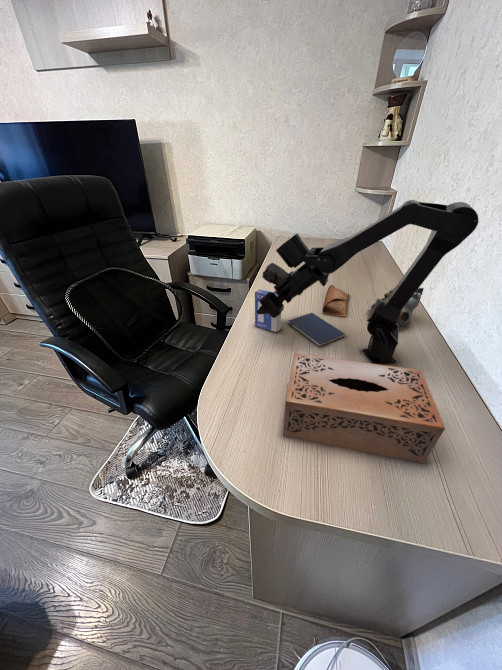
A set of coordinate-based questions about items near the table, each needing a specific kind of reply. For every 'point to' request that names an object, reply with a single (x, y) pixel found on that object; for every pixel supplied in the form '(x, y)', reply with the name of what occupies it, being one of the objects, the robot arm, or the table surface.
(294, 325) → the notebook
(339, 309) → the sunglasses case
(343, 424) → the tissue box cover
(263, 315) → the walkman
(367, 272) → the table surface
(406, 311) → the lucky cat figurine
